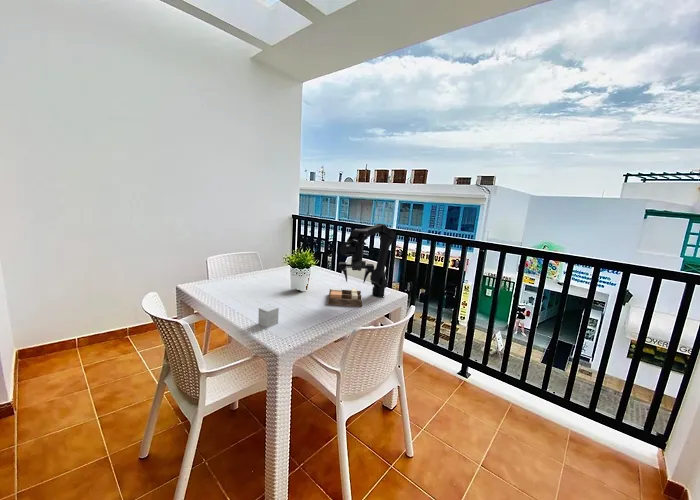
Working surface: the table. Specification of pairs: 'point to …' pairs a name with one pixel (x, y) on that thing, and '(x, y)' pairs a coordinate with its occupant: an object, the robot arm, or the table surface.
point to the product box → (268, 315)
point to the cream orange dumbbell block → (339, 295)
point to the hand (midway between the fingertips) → (355, 282)
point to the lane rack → (345, 299)
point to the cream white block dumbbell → (341, 289)
